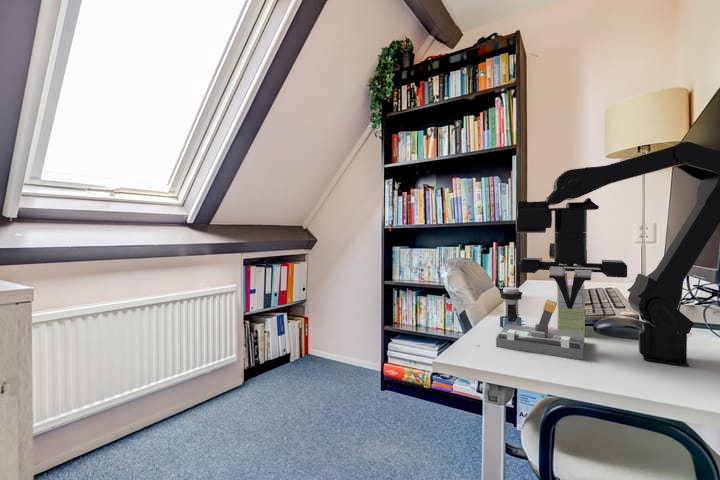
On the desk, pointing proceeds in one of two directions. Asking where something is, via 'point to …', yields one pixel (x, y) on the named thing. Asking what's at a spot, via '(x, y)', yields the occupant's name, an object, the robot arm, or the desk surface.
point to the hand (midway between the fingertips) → (569, 308)
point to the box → (571, 311)
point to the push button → (511, 307)
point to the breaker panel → (542, 341)
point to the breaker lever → (546, 315)
